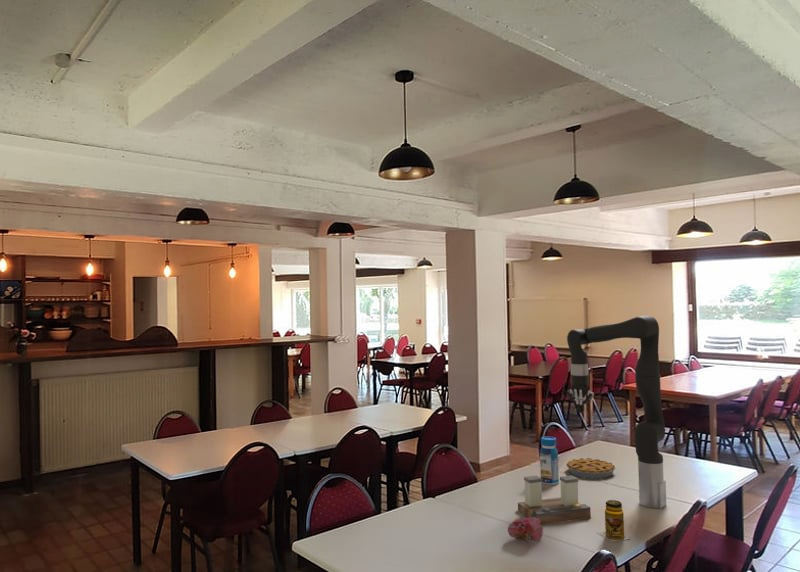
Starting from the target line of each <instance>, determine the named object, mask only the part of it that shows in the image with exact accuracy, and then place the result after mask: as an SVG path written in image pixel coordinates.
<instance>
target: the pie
mask: <svg viewBox="0 0 800 572" xmlns="http://www.w3.org/2000/svg"><path fill="white" fill-rule="evenodd" d="M566 467H567V469H568V470H569V472H570V474H572V475H573V476H576V477H580V478H583V479H595V480H596V479H597V480H599V479H605V478H609V477H611V476H612V475H613V473H614V471H615V470H616V466H615V464H613V463H612V462H608V461H607V460H600V459H598V458H596V459H592V458H588V457H587V458H579V459H572V460H569V461H568V462H567V463H566ZM598 478H599V479H598Z"/></svg>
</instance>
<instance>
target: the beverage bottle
mask: <svg viewBox="0 0 800 572" xmlns="http://www.w3.org/2000/svg"><path fill="white" fill-rule="evenodd" d="M540 445H541V446H542V447H541V448H540V450H539V455H540V456H539V463H540V464H539V466H540V467H539V468H540V478H542V482H541V484H543V485H547V486H548V485H550V486H555V485H558V484H559V483H560V476H559V461H560V460H559V457H558V455H559V452H558V451H559V450H558V449H557V448H556V446H557V438H556V437H554V436H542V437H540Z"/></svg>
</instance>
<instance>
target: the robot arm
mask: <svg viewBox="0 0 800 572" xmlns="http://www.w3.org/2000/svg"><path fill="white" fill-rule="evenodd" d="M624 338H625V339H627V338H628V339H639V340H640V353H639V357H638V358H637V359H638V360H637V362H636V363H637V364H636V365H635V370H634V371H635V372H634V375H635V388H636V391H637V394H638V396H639V398H640V401H641V402H642V406H643V415H644V416H643V419H644V420H643V421H641V422H639V423H638V424H637V425H636V426H635V428H634V447H635V453H636V456H637V462H638V463H637V465H638V467H637V468H638V469H637V471H638V498H639V499H638V501H639V504H640V505H641V506H643V507H647V508H649V509H663V508H664V507H665V506H667V483H666V482H667V481H666V480H665V479H664V478H665V477H664V457H663V454H662V453H660V452H659V444H658V443H659V442H662V441H663V439H664V438H665V436H666V426H665V420H664V414H663V409H662V390H661V389H662V388H661V375H660V374H661V373H660V359H659V355H660V354H659V339H660V326H659V323H658V321H657V319H656V318H655V317H653V316H651V315H639V316H635V317H633V318H630V319H628V320H625V321H621V322H617V323H612V324H602V325H595V326H591V327H588V328H577V329H570V331H568V334H567V336H566V341H567V346H568V350H569V352H570V385H571V386H570V389H569V390H566V392H565V393H566V395H568V397H569V399H570V400H571V401H572V403H574V404H576V410H577V414H583V413H585V404H589V403H590V401H591V400H592V399H593V397H594V396H595V392H593V391H591V390H590V389H591V388H590V386H589V384H590V383H589V382H590V379H589V365H588V352H587V351H586V350H583V347H582V346H583V345H589V344H592V343H593V344H594V343H602V342H609V341H610V342H611V341H613V340H617V339H624Z"/></svg>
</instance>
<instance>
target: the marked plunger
mask: <svg viewBox="0 0 800 572" xmlns="http://www.w3.org/2000/svg"><path fill="white" fill-rule="evenodd" d="M559 481H560V497H561V504H563V505H565V506H571V505H573V504H578V503H579V487H578V486H579V478H578V477H577V476H576V477H575V475H566V476H559Z"/></svg>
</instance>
